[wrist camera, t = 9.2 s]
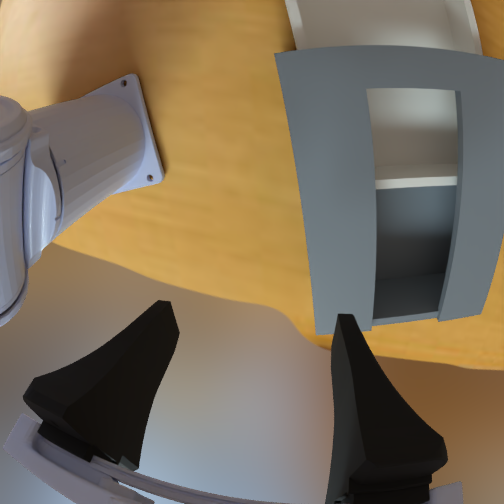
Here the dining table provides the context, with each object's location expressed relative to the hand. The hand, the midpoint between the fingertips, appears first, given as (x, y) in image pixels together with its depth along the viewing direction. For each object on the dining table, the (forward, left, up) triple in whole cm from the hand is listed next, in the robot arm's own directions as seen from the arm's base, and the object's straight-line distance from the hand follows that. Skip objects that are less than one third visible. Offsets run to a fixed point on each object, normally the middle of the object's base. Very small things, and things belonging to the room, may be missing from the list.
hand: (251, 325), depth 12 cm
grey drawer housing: (+8, +3, -9) cm, 13 cm away
